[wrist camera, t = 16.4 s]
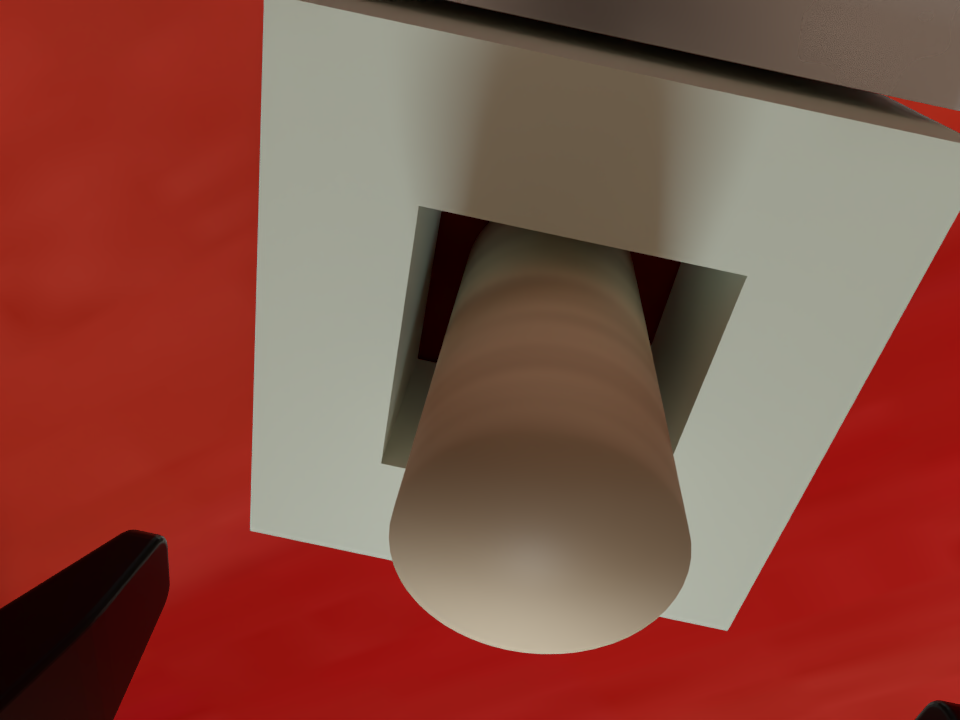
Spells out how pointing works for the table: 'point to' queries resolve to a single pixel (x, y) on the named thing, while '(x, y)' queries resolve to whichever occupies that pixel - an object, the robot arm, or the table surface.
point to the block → (583, 216)
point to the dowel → (543, 456)
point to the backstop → (788, 37)
